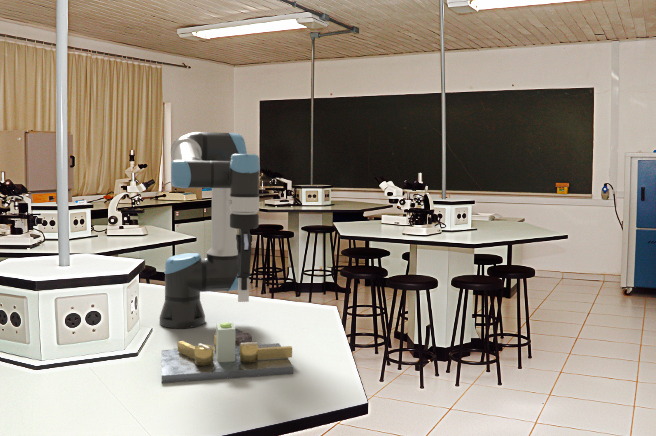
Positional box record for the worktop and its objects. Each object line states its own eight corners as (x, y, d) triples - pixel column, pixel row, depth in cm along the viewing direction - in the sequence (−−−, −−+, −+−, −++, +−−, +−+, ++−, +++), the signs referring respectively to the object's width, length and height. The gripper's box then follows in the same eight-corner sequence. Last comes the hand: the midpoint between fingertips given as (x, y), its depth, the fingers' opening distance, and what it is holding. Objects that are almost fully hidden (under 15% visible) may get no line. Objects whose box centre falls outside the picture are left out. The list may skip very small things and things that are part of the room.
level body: (216, 355, 169) (216, 321, 168) (232, 353, 171) (232, 320, 170) (217, 362, 164) (218, 327, 163) (235, 361, 165) (235, 326, 164)
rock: (250, 349, 182) (251, 334, 181) (212, 349, 181) (212, 334, 180) (252, 341, 190) (252, 326, 189) (215, 341, 189) (215, 326, 188)
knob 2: (240, 363, 163) (240, 346, 162) (238, 356, 168) (238, 340, 167) (293, 359, 167) (293, 343, 166) (289, 353, 171) (290, 337, 171)
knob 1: (217, 362, 163) (217, 345, 162) (201, 366, 159) (201, 349, 159) (187, 349, 173) (187, 333, 172) (172, 352, 169) (172, 336, 169)
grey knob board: (161, 356, 172) (161, 336, 172) (279, 349, 181) (279, 330, 181) (161, 383, 153) (161, 360, 153) (293, 373, 162) (293, 352, 162)
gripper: (228, 210, 164) (227, 296, 166) (231, 215, 152) (230, 307, 154) (255, 210, 166) (254, 295, 168) (261, 215, 153) (260, 306, 156)
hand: (243, 301), depth 161 cm, fingers closed
